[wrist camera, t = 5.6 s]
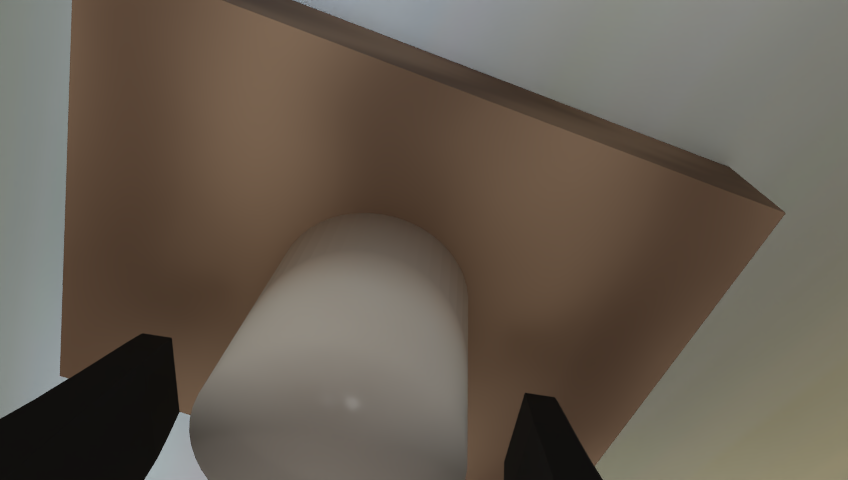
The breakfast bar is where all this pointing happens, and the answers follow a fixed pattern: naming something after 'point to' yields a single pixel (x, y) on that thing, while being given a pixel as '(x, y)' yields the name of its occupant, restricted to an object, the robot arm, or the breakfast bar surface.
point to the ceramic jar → (345, 363)
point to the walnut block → (381, 203)
